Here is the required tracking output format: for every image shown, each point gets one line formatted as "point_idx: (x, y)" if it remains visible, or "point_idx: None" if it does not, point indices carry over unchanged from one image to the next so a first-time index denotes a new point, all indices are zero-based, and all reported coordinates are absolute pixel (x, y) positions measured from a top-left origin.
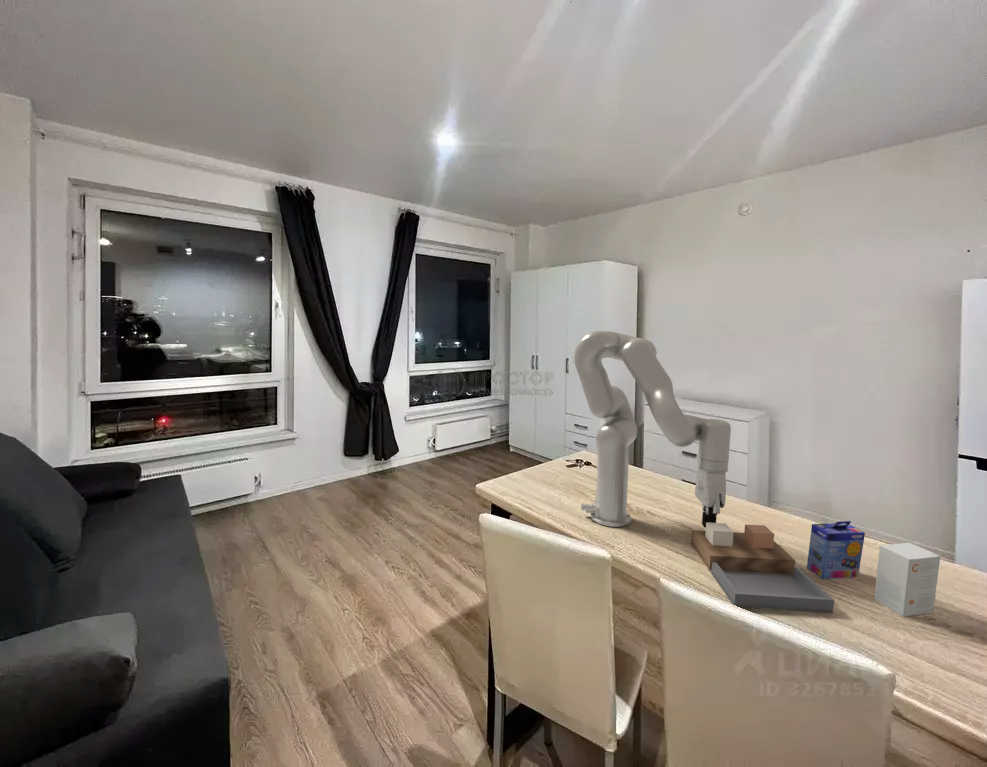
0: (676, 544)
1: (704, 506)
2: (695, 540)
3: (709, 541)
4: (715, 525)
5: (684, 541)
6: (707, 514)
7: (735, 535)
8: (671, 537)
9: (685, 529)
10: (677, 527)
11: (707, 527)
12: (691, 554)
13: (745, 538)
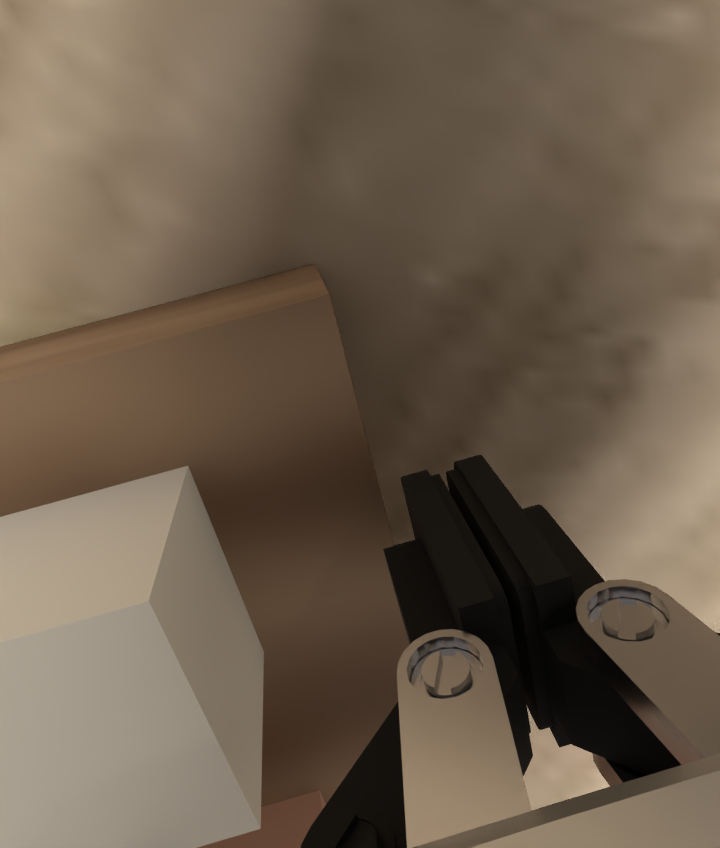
0: (221, 83)
1: (638, 699)
2: (151, 328)
3: (34, 509)
4: (85, 726)
5: (347, 196)
6: (402, 669)
7: (362, 735)
8: (407, 25)
9: (670, 229)
10: (712, 134)
11: (84, 580)
12: (28, 256)
13: (288, 815)
